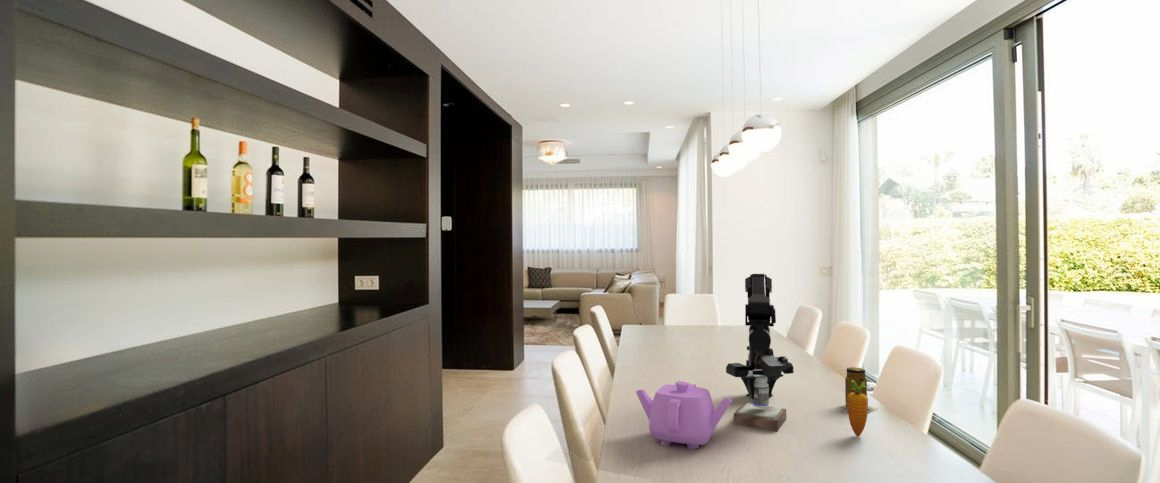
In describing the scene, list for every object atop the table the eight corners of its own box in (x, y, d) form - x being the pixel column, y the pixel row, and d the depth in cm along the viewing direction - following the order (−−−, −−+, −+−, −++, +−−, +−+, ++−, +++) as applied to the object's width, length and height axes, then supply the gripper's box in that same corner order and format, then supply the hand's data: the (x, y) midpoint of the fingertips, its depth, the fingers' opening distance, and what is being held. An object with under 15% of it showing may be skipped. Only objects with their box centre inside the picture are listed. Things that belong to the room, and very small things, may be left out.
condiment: (850, 402, 172) (849, 365, 172) (878, 408, 165) (877, 370, 166) (839, 407, 167) (839, 368, 167) (868, 413, 161) (867, 373, 161)
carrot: (866, 434, 143) (866, 378, 143) (870, 440, 138) (869, 382, 138) (846, 432, 144) (845, 376, 145) (848, 438, 140) (848, 381, 140)
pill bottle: (749, 403, 156) (748, 374, 156) (764, 402, 157) (764, 374, 157) (755, 408, 151) (755, 378, 151) (771, 407, 152) (771, 378, 152)
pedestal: (733, 424, 152) (733, 412, 152) (744, 412, 162) (744, 401, 162) (777, 431, 146) (777, 419, 146) (786, 419, 156) (786, 407, 156)
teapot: (735, 447, 134) (734, 387, 135) (673, 458, 127) (672, 395, 128) (690, 424, 152) (690, 371, 152) (634, 433, 145) (633, 377, 145)
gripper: (745, 351, 144) (745, 409, 144) (805, 347, 148) (806, 403, 148) (724, 343, 155) (725, 397, 155) (781, 340, 159) (782, 393, 159)
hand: (760, 398), depth 154 cm, fingers closed on pill bottle, 5 cm apart
